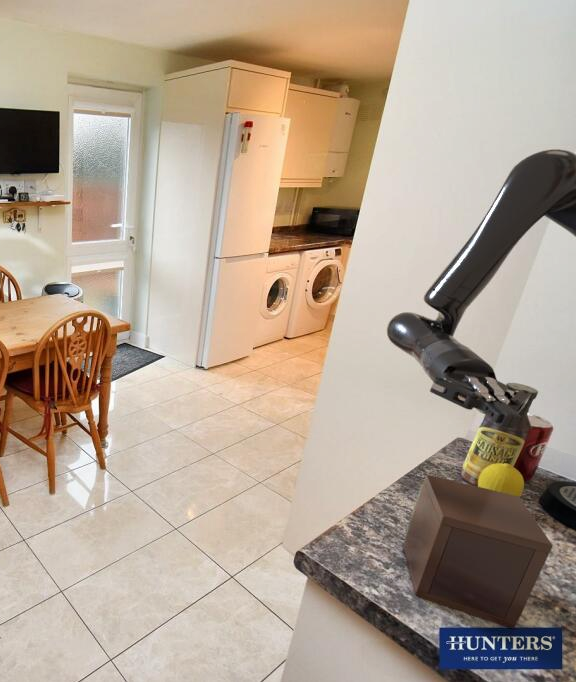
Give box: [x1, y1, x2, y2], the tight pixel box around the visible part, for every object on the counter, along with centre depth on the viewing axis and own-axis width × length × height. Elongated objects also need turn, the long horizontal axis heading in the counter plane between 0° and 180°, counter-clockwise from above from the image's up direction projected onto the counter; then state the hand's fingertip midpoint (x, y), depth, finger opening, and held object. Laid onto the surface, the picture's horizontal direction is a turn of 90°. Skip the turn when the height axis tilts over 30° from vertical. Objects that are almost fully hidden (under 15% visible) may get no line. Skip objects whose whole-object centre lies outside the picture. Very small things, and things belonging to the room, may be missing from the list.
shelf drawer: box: [405, 482, 424, 536], centre depth 61 cm, size 11×10×10 cm
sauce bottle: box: [460, 382, 539, 487], centre depth 81 cm, size 6×6×20 cm
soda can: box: [513, 412, 554, 484], centre depth 85 cm, size 7×7×12 cm
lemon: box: [477, 463, 525, 498], centre depth 77 cm, size 6×6×8 cm
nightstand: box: [402, 473, 554, 630], centre depth 59 cm, size 10×10×13 cm
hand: (510, 422), depth 62 cm, fingers closed
